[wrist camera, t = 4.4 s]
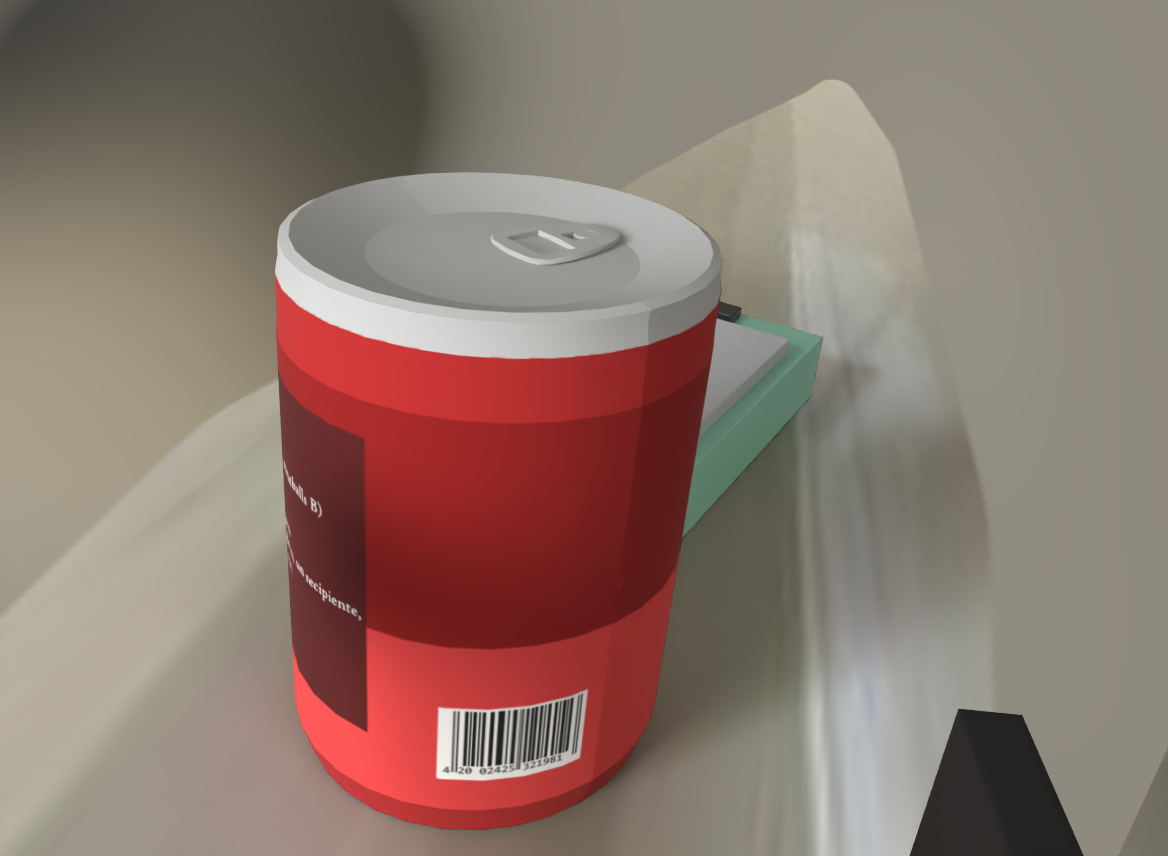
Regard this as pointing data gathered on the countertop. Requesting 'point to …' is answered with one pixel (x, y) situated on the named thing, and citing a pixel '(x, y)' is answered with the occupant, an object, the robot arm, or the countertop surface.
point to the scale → (747, 399)
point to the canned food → (486, 481)
